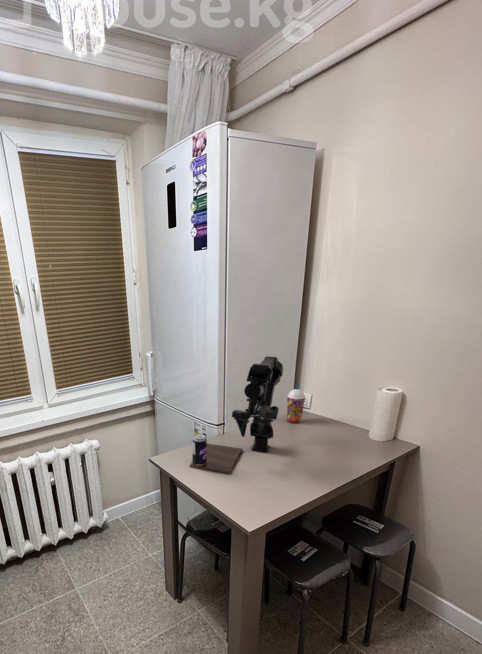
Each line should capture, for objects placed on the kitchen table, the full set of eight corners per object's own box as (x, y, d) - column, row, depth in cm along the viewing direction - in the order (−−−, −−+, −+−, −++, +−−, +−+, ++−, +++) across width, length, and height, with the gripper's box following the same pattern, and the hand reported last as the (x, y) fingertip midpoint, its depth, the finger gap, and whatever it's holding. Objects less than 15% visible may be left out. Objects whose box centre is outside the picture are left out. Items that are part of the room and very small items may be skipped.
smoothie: (286, 424, 181) (290, 386, 174) (283, 418, 189) (287, 381, 182) (304, 424, 180) (308, 386, 173) (300, 418, 188) (304, 381, 180)
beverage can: (200, 468, 142) (200, 440, 137) (189, 463, 146) (189, 436, 142) (209, 463, 145) (209, 436, 141) (199, 458, 149) (199, 432, 145)
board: (206, 445, 163) (206, 443, 163) (241, 450, 156) (242, 448, 156) (190, 466, 145) (190, 464, 145) (229, 474, 138) (229, 472, 138)
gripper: (254, 399, 126) (248, 442, 129) (290, 400, 135) (284, 440, 138) (233, 395, 136) (228, 435, 139) (268, 396, 145) (262, 433, 148)
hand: (251, 436), depth 140 cm, fingers open, 9 cm apart
